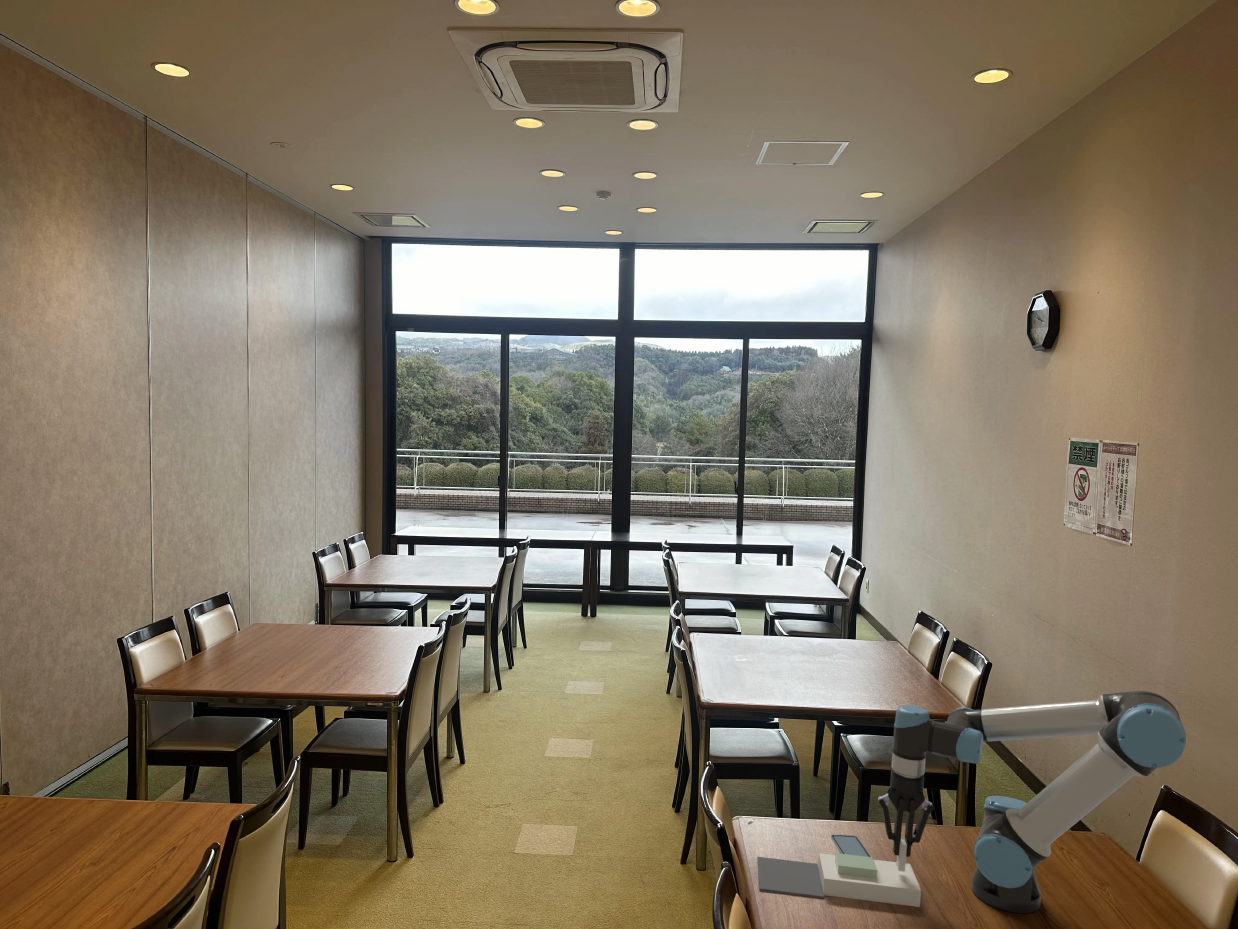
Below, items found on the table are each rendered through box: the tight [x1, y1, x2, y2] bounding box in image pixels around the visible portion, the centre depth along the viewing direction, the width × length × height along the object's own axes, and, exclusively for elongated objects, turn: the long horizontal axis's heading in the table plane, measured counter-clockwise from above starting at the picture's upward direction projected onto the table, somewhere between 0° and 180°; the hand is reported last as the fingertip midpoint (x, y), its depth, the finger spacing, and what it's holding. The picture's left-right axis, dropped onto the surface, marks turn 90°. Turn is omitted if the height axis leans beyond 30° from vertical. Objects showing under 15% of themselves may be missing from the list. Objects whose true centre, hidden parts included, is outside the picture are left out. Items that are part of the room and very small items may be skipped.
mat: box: [757, 856, 825, 899], centre depth 200 cm, size 15×15×1 cm
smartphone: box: [830, 834, 872, 857], centre depth 215 cm, size 7×1×15 cm
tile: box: [834, 852, 877, 878], centre depth 198 cm, size 9×6×2 cm, turn 82°
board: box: [817, 852, 922, 908], centre depth 197 cm, size 22×12×4 cm, turn 82°
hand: (900, 868), depth 196 cm, fingers closed
